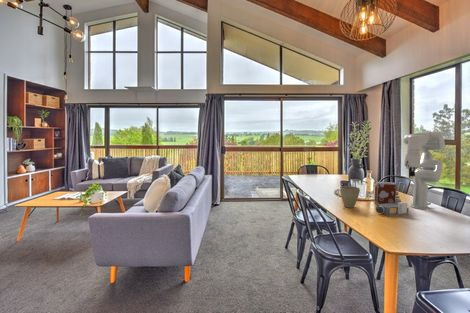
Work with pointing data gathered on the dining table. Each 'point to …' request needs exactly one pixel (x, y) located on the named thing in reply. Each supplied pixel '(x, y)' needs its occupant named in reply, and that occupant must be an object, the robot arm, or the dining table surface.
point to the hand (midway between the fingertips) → (411, 176)
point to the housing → (389, 209)
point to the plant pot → (349, 195)
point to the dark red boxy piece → (386, 193)
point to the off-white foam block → (402, 207)
